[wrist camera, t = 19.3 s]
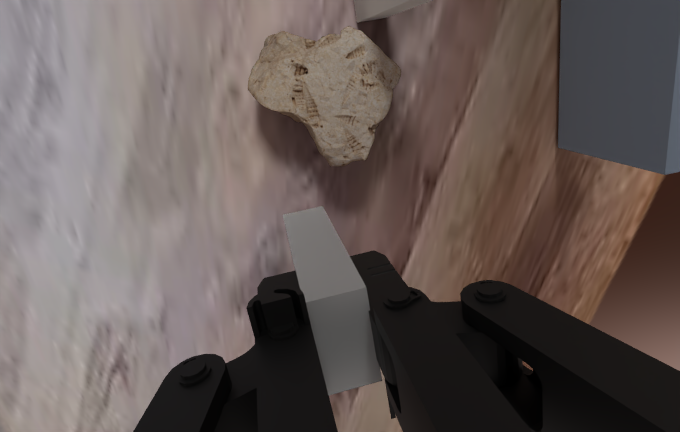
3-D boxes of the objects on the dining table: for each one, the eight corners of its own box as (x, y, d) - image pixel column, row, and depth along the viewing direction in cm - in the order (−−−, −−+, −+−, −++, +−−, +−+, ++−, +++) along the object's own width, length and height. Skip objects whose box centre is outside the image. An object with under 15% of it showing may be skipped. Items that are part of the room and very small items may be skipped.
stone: (341, 168, 39) (345, 183, 34) (238, 73, 35) (227, 76, 31) (415, 91, 37) (430, 96, 32) (313, -16, 34) (314, -28, 29)
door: (553, 147, 43) (669, 177, 31) (556, -42, 37) (699, -94, 25) (581, 141, 43) (707, 169, 31) (588, -47, 38) (744, -99, 26)
